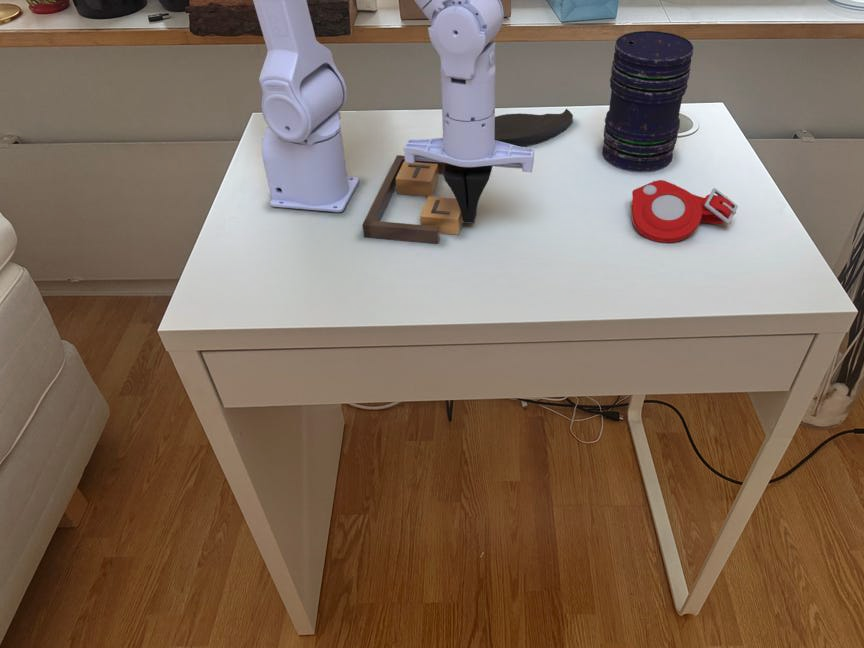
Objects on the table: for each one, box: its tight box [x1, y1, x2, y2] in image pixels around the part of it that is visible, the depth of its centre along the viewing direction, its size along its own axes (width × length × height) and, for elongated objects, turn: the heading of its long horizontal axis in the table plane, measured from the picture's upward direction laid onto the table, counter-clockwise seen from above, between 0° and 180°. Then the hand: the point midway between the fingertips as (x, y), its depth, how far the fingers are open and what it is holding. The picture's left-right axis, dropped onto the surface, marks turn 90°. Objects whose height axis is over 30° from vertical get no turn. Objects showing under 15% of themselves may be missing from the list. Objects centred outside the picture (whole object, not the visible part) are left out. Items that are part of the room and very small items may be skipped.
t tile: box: [395, 161, 439, 197], centre depth 95 cm, size 5×5×2 cm
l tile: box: [419, 195, 464, 236], centre depth 89 cm, size 5×5×2 cm
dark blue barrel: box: [601, 30, 695, 173], centre depth 97 cm, size 10×10×15 cm
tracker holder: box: [630, 179, 739, 244], centre depth 89 cm, size 12×4×10 cm
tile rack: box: [362, 154, 445, 245], centre depth 92 cm, size 9×17×2 cm, turn 171°
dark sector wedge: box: [494, 108, 574, 148], centre depth 107 cm, size 8×14×2 cm, turn 107°
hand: (469, 218), depth 89 cm, fingers closed
